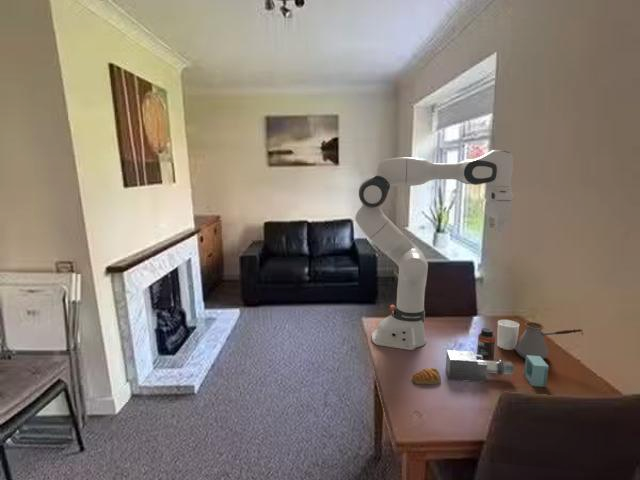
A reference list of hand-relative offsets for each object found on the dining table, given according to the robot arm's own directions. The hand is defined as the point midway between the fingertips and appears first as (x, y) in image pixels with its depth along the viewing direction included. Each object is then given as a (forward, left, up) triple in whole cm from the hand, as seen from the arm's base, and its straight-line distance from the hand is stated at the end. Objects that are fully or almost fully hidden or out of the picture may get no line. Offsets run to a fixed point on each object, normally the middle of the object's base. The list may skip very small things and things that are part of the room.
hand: (494, 229), depth 153 cm
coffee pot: (+19, -10, -48) cm, 53 cm away
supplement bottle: (-3, -11, -48) cm, 50 cm away
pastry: (-27, -31, -48) cm, 63 cm away
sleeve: (-13, -26, -48) cm, 56 cm away
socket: (+10, -26, -48) cm, 55 cm away
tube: (-8, -26, -47) cm, 54 cm away
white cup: (+8, 0, -48) cm, 49 cm away
